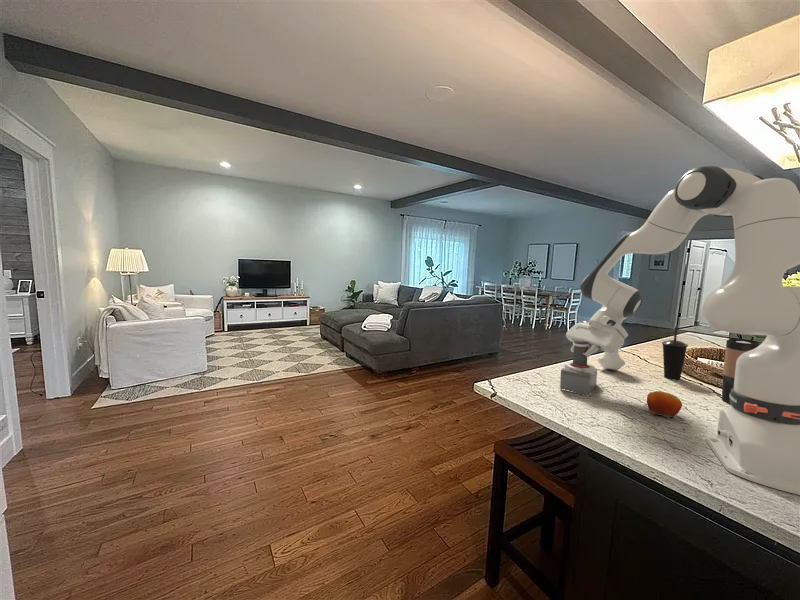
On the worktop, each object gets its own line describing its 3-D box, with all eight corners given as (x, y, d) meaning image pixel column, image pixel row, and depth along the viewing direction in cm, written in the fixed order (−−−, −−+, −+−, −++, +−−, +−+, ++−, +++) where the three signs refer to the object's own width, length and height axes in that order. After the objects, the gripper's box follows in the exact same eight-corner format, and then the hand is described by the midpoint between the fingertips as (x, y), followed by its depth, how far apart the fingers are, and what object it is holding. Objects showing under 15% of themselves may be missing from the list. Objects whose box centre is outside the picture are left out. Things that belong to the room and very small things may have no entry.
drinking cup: (657, 377, 127) (661, 327, 125) (661, 373, 132) (665, 324, 130) (683, 382, 121) (687, 329, 119) (686, 378, 127) (690, 327, 124)
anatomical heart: (596, 370, 136) (598, 335, 134) (597, 364, 145) (599, 330, 144) (624, 374, 131) (627, 338, 129) (624, 367, 140) (626, 333, 138)
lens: (585, 371, 114) (587, 343, 113) (570, 368, 117) (572, 341, 116) (588, 367, 118) (589, 340, 117) (573, 365, 121) (575, 338, 120)
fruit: (642, 412, 94) (646, 385, 97) (645, 417, 100) (649, 392, 102) (679, 421, 89) (682, 392, 91) (680, 426, 94) (683, 399, 96)
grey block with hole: (588, 396, 110) (590, 373, 109) (560, 389, 116) (560, 367, 115) (596, 384, 121) (597, 363, 120) (569, 379, 126) (570, 358, 126)
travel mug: (762, 408, 99) (769, 344, 97) (732, 407, 101) (739, 343, 99) (741, 398, 107) (747, 338, 104) (714, 397, 108) (719, 337, 106)
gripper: (575, 315, 127) (553, 341, 126) (623, 324, 108) (597, 355, 106) (584, 326, 129) (562, 352, 127) (633, 336, 109) (607, 367, 108)
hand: (578, 353), depth 117 cm, fingers closed on lens, 4 cm apart
